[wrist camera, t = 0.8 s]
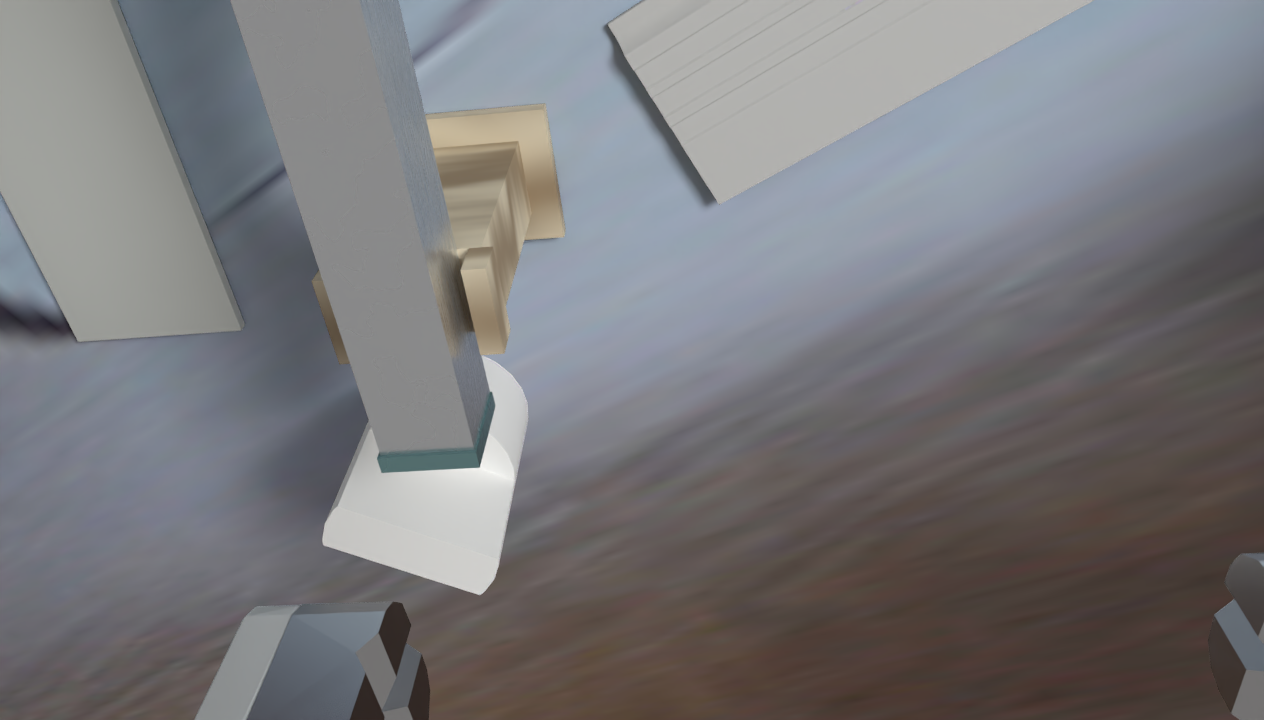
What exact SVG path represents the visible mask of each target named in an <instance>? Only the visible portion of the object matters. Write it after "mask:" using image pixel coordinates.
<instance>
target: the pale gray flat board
mask: <svg viewBox="0 0 1264 720" xmlns="http://www.w3.org/2000/svg"><path fill="white" fill-rule="evenodd" d="M0 192H1V194H2V196H3V198H4V200H5V202H6V204H7V205H8V207H9V209H10V211H11V213H12V215H13V217H14V219H15V221H16V223H17V225H18V227H19V229H20V231H21V232H22V234H23V236H24V238H25V240H26V242H27V244H28V246H29V248H30V250H31V252H32V254H33V256H34V258H35V260H36V261H37V263H38V265H39V267H40V269H41V271H42V273H43V275H44V277H45V279H46V281H47V283H48V285H49V287H50V288H51V290H52V292H53V294H54V296H55V298H56V300H57V302H58V304H59V306H60V308H61V310H62V312H63V314H64V316H65V317H66V319H67V321H68V323H69V325H70V327H71V329H72V331H73V333H74V335H75V337H76V339H77V341H78V342H83V341H98V340H112V339H127V338H141V337H155V336H170V335H184V334H198V333H213V332H227V331H242V329H243V328H244V326H245V323H244V320H243V318H242V315H241V313H240V310H239V307H238V305H237V302H236V300H235V297H234V295H233V292H232V290H231V287H230V285H229V282H228V280H227V277H226V275H225V272H224V269H223V267H222V264H221V262H220V259H219V257H218V254H217V252H216V249H215V247H214V244H213V242H212V239H211V237H210V234H209V231H208V229H207V226H206V224H205V221H204V219H203V216H202V214H201V211H200V209H199V206H198V204H197V201H196V198H195V196H194V193H193V191H192V188H191V186H190V183H189V181H188V178H187V176H186V173H185V171H184V168H183V166H182V163H181V160H180V158H179V155H178V153H177V150H176V148H175V145H174V143H173V140H172V138H171V135H170V133H169V130H168V128H167V125H166V122H165V120H164V117H163V115H162V112H161V110H160V107H159V105H158V102H157V100H156V97H155V95H154V92H153V90H152V87H151V84H150V82H149V79H148V77H147V74H146V72H145V69H144V67H143V64H142V62H141V59H140V57H139V54H138V51H137V49H136V46H135V44H134V41H133V39H132V36H131V34H130V31H129V29H128V26H127V24H126V21H125V19H124V16H123V13H122V11H121V8H120V6H119V3H118V1H117V0H0Z"/></svg>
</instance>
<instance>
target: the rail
mask: <svg viewBox="0 0 1264 720" xmlns="http://www.w3.org/2000/svg"><path fill="white" fill-rule="evenodd" d="M230 1H231V4H232V7H233V10H234V13H235V16H236V19H237V22H238V25H239V28H240V31H241V34H242V38H243V41H244V44H245V47H246V50H247V53H248V56H249V59H250V62H251V65H252V68H253V71H254V74H255V77H256V80H257V83H258V86H259V89H260V92H261V95H262V98H263V101H264V104H265V107H266V110H267V113H268V116H269V119H270V122H271V125H272V128H273V131H274V134H275V137H276V141H277V144H278V147H279V150H280V153H281V156H282V159H283V162H284V165H285V168H286V171H287V174H288V177H289V180H290V183H291V186H292V189H293V192H294V195H295V198H296V201H297V204H298V207H299V210H300V213H301V216H302V219H303V222H304V225H305V228H306V231H307V234H308V237H309V240H310V244H311V247H312V250H313V253H314V256H315V259H316V262H317V265H318V268H319V271H320V274H321V277H322V280H323V283H324V286H325V289H326V292H327V295H328V298H329V301H330V304H331V307H332V310H333V313H334V316H335V319H336V322H337V325H338V328H339V331H340V334H341V337H342V340H343V343H344V347H345V350H346V353H347V356H348V359H349V362H350V365H351V368H352V371H353V374H354V377H355V380H356V383H357V386H358V389H359V392H360V395H361V398H362V401H363V404H364V407H365V410H366V413H367V416H368V419H369V422H370V425H371V428H372V431H373V434H374V437H375V440H376V443H377V446H378V450H379V454H378V457H377V461H378V464H379V467H380V470H381V473H391V472H409V471H428V470H446V469H464V468H480V465H481V461H482V457H483V453H484V449H485V446H486V442H487V438H488V434H489V430H490V426H491V422H492V418H493V414H494V410H495V401H494V397H493V393H492V392H490V390H489V385H488V381H487V377H486V372H485V368H484V364H483V360H482V355H480V351H479V347H478V343H477V338H476V334H475V330H474V326H473V321H472V317H471V313H470V309H469V304H468V300H467V296H466V292H465V287H464V283H463V279H462V275H461V266H460V261H459V257H458V253H457V249H456V244H455V240H454V236H453V232H452V227H451V223H450V219H449V214H448V210H447V206H446V202H445V197H444V193H443V189H442V185H441V180H440V176H439V172H438V167H437V163H436V159H435V155H434V150H433V146H432V142H431V138H430V133H429V129H428V125H427V120H426V116H425V112H424V108H423V103H422V99H421V95H420V91H419V86H418V82H417V78H416V73H415V69H414V65H413V61H412V56H411V52H410V48H409V44H408V39H407V35H406V31H405V27H404V22H403V18H402V14H401V9H400V5H399V1H398V0H230Z"/></svg>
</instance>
